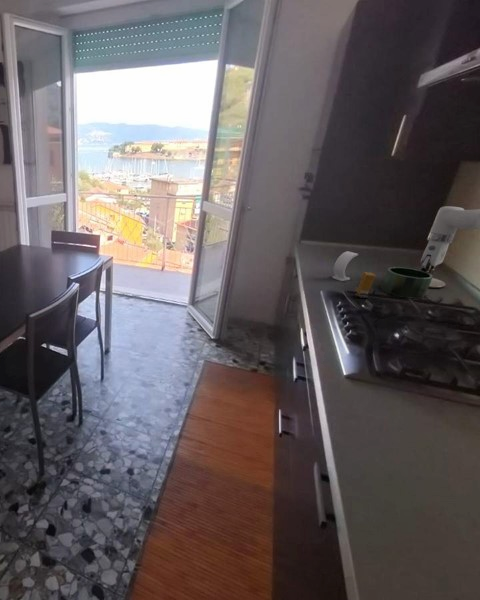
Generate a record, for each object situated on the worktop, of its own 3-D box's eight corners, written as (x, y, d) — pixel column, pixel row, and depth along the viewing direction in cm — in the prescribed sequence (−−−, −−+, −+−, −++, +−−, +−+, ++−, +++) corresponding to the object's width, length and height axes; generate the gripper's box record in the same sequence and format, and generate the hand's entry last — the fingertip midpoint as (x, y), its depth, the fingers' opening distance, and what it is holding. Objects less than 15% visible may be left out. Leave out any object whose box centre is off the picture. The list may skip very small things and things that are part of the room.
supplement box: (367, 299, 139) (376, 275, 135) (357, 298, 140) (365, 274, 136) (365, 296, 142) (373, 272, 138) (354, 295, 143) (362, 271, 139)
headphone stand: (349, 279, 159) (358, 253, 154) (340, 281, 157) (348, 255, 152) (339, 276, 163) (347, 251, 158) (330, 278, 161) (337, 252, 156)
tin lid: (450, 284, 153) (456, 269, 150) (436, 291, 146) (443, 276, 143) (408, 274, 164) (413, 260, 161) (393, 280, 157) (399, 266, 155)
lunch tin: (429, 294, 143) (438, 274, 140) (415, 301, 137) (424, 280, 134) (389, 283, 154) (396, 265, 151) (374, 290, 148) (381, 270, 144)
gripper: (444, 242, 140) (426, 285, 147) (460, 236, 148) (441, 277, 155) (420, 238, 146) (404, 279, 153) (436, 233, 154) (420, 272, 161)
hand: (423, 278), depth 154 cm, fingers closed on tin lid, 4 cm apart
